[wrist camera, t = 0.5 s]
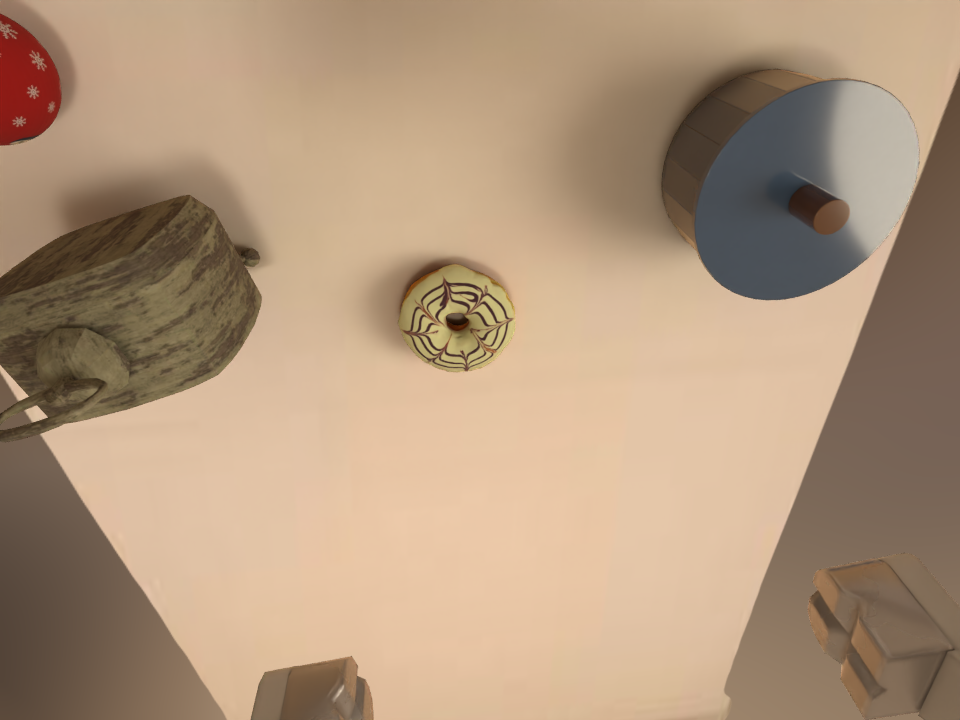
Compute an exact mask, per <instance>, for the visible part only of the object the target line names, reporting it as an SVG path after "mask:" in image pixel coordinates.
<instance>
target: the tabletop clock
mask: <svg viewBox="0 0 960 720" xmlns="http://www.w3.org/2000/svg"><path fill="white" fill-rule="evenodd" d="M259 259H260V256H259V254H258V252H257V251H256V250H254V249H253V248H246V249H245V250H243V251H242V252H241V255H240V256H239V255H238V253H237V251H236V249H235V248H234V246H233V244H232V242H231V240H230V239H229V237H228V235H227V233H226V231H225V230H224V228H223V226H222V224H221V223H220V221H219V219H218V217H217V215H216V214H215V212H214V211H213V210H212V209H210V208H209V207H207V206H206V205H204V204H203V203H201V202H199V201H198V200H196V199H195V198H193V197H192V196H190V195H186V196H181V197H177V198H173V199H170V200H166V201H163V202H160V203H156V204H153V205H150V206H147V207H144V208H140V209H137V210H134V211H131V212H128V213H125V214H122V215H119V216H116V217H113V218H110V219H107V220H104V221H101V222H98V223H95V224H92V225H89V226H86V227H83V228H80V229H78V230H75V231H72V232H70V233H68V234H65V235H63V236H60V237H59V238H57V239H55V240H53V241H52V242H50V243H48V244H47V245H45V246H44V247H42V248H40V249H39V250H37V251H36V252H35V253H33V254H32V255H30V256H29V257H28V258H26V259H25V260H23V261H22V262H21V263H19V264H18V265H16V266H15V267H14V268H12V269H11V270H9V271H8V272H7V273H6V274H4V275H3V276H2V277H1V278H0V365H1V366H2V367H3V368H4V369H5V371H6V372H7V373H8V374H9V375H10V376H11V377H12V378H13V379H14V380H15V381H16V383H17V384H18V385H19V386H20V387H21V388H22V389H23V390H24V391H25V392H26V394H27V395H28V396H29V397H27V398H25V399H23V400H21V401H19V402H17V403H16V404H14V405H13V406H11V407H10V408H8V409H7V410H5V411H4V412H2V413H1V414H0V425H1V424H2V423H3V422H4V421H5V420H7V419H8V418H9V417H11V416H13V415H15V414H17V413H19V412H21V411H23V410H26V409H28V408H31V407H33V406H36V405H37V406H38V407H39V408H40V409H41V410H42V411H43V412H44V413H45V414H46V415H47V417H48V418H45V419H43V420H40V421H37V422H34V423H30V424H27V425H23V426H20V427H16V428H12V429H8V430H0V442H10V441H14V440H20V439H24V438H28V437H30V436H34V435H38V434H41V433H44V432H46V431H49V430H51V429H54V428H57V427H59V426H61V425H63V424H65V423H73V422H78V421H83V420H87V419H91V418H95V417H99V416H103V415H107V414H111V413H115V412H119V411H123V410H127V409H130V408H133V407H136V406H139V405H142V404H145V403H148V402H151V401H154V400H157V399H160V398H163V397H166V396H169V395H172V394H175V393H178V392H181V391H184V390H186V389H189V388H191V387H194V386H196V385H198V384H201V383H203V382H205V381H207V380H209V379H211V378H213V377H215V376H217V375H218V374H219V373H220V372H221V371H222V370H223V369H224V368H225V367H226V366H227V365H228V364H229V363H230V362H231V361H232V360H233V358H234V357H235V356H236V354H237V353H238V351H239V350H240V349H241V347H242V346H243V344H244V342H245V340H246V339H247V337H248V335H249V333H250V332H251V330H252V328H253V326H254V324H255V322H256V319H257V316H258V313H259V310H260V307H261V301H262V296H261V294H260V292H259V290H258V289H257V287H256V285H255V283H254V282H253V280H252V278H251V276H250V274H249V273H248V271H247V269H246V267H245V265H246V266H251V267H253V266H255V265H256V264H258V263H259Z"/></svg>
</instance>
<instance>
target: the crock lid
mask: <svg viewBox="0 0 960 720" xmlns="http://www.w3.org/2000/svg"><path fill="white" fill-rule="evenodd" d="M918 166H919V142H918V135H917V132H916V128H915V125H914V122H913V120H912V118H911V116H910V114H909V112H908V111H907V109H906V108H905V107H904V106H903V104H902V103H901V102H900V101H899V100H898V99H897V98H896V97H895V96H893V95H892V94H891V93H890V92H888V91H886V90H885V89H883V88H881V87H879V86H877V85H874V84H871V83H868V82H865V81H861V80H855V79H848V78H831V79H824V80H817V81H813V82H809V83H806V84H802V85H799V86H797V87H794V88H792V89H790V90H787V91H785V92H783V93H781V94H779V95H777V96H776V97H774V98H772V99H770V100H768V101H767V102H766V103H764V104H763V105H761V106H760V107H758V108H757V109H756V110H754V111H753V112H752V113H751V114H749V115H748V116H747V117H746V118H745V119H744V120H743V121H741V122H740V123H739V124H738V125H737V126H736V128H735V129H734V130H733V131H732V132H731V133H730V134H729V135H728V136H727V137H726V139H725V140H724V141H723V143H722V144H721V145H720V147H719V148H718V149H717V151H716V152H715V154H714V156H713V157H712V159H711V161H710V162H709V164H708V166H707V168H706V170H705V172H704V174H703V176H702V178H701V181H700V184H699V187H698V190H697V193H696V197H695V202H694V206H693V216H692V231H693V239H694V244H695V248H696V251H697V253H698V256H699V259H700V260H701V262H702V264H703V265H704V267H705V269H706V270H707V271H708V272H709V273H710V275H711V276H712V277H713V278H714V279H715V280H716V281H717V282H718V283H720V284H721V285H722V286H723V287H725V288H727V289H728V290H730V291H732V292H734V293H736V294H739V295H741V296H744V297H748V298H753V299H760V300H782V299H789V298H794V297H798V296H802V295H806V294H809V293H811V292H814V291H817V290H819V289H822V288H824V287H826V286H828V285H830V284H832V283H834V282H835V281H837V280H839V279H840V278H842V277H844V276H845V275H847V274H848V273H850V272H851V271H852V270H854V269H855V268H856V267H858V266H859V265H860V264H861V263H862V262H864V261H865V260H866V259H867V258H868V257H869V256H870V255H871V254H872V253H873V252H874V251H875V250H876V249H877V248H878V247H879V246H880V245H881V244H882V243H883V241H884V240H885V239H886V238H887V237H888V235H889V234H890V233H891V231H892V230H893V228H894V227H895V225H896V224H897V222H898V221H899V219H900V217H901V216H902V214H903V212H904V210H905V208H906V206H907V204H908V202H909V199H910V197H911V194H912V192H913V189H914V185H915V182H916V178H917V172H918Z"/></svg>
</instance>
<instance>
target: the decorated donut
mask: <svg viewBox="0 0 960 720" xmlns="http://www.w3.org/2000/svg"><path fill="white" fill-rule="evenodd" d="M450 313H462V314H463V315H464V316H465V317H466V318H468V319H469V320H468V322H467V323H465V324H463V325H460V326H458V325H457V326H455V325H453V324H451V323H448V322H447V321H446V316H447V315H448V314H450ZM398 324H399V327H400V330H401V332H402V335H403V338H404V340H405V341H406V343H407V345H408V346H409V347H410V348H411V349H412V351H413V352H414V353H415V354H416V355H417V356H418V357H419V358H420V359H422V360H423V361H424V362H426V363H428V364H429V365H432V366H434V367H436V368H438V369H442V370H445V371H448V372H462V371H472V370H475V369H479V368H482V367H484V366H486V365H487V364H489V363H491V362H492V361H494V360H495V359H496V358H497V357H498V355H499V354H500V353H501V352H502V351H503V349H504V348H505V347H506V346H507V345H508V343H509V342H510V341H511V339H512V337H513V334H514V331H515V310H514V306H513V304H512V302H511V301H510V300H509V298H508V295H507V293H506V291H505V289H504V288H503V287H502V285H500V284H499V283H498V282H496V281H495V280H494V279H492V278H490V277H489V276H487V275H484V274H483V273H480V272H476V271H473V270H469V269H468V268H466V267H464V266H461V265H458V264H452V265H448V266H445V267H443V268H441V269H440V270H436V271H434V272H431V273H429V274H427V275H425V276H423V277H421V278H420V279H418V280H417V281H416V282H415V283H413V284H412V285H411V286H410V288H409V290H408V291H407V293H406V296H405V298H404V301H403V304H402V309H401V314H400V317H399V320H398Z"/></svg>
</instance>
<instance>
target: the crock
mask: <svg viewBox="0 0 960 720" xmlns="http://www.w3.org/2000/svg"><path fill="white" fill-rule="evenodd" d="M817 80H824V79H822V78H818V77H815V76H811V75H808V74H803V73H797V72H793V71H787V70H781V69H773V70H763V71H756V72H753V73H749V74H746V75H743V76H740V77H738V78H736V79H733V80H731V81H729V82H728V83H726V84H724V85H722V86H721V87H719V88H718V89H716V90H715V91H713V92H712V93H711V94H709V95H708V96H707V97H706V98H705V99H704V100H702V101H701V102H700V103H699V104H698V105H697V106H696V107H695V108H694V110H693V111H692V112H691V113H690V114H689V115H688V116H687V118H686V119H685V121H684V122H683V123H682V125H681V126H680V128H679V130H678V131H677V133H676V135H675V137H674V138H673V141H672V143H671V145H670V148H669V150H668V153H667V156H666V160H665V163H664V169H663V174H662V193H663V200H664V204H665V208H666V211H667V213H668V216H669V218H670V219H671V221H672V223H673V224H674V226H675V227H676V228H677V229H678V231H679V232H680V234H681V235H682V237H683V238H684V239H685V240H686V241H687V242H688V243H689V244H690V245H691V246H692V247H693V248H694V249H695V250H696V248H695V244H694V239H693V231H692V216H693V206H694V202H695V197H696V193H697V190H698V187H699V184H700V181H701V178H702V176H703V174H704V172H705V170H706V168H707V166H708V164H709V162H710V161H711V159H712V157H713V156H714V154H715V152H716V151H717V149H718V148H719V147H720V145H721V144H722V143H723V141H724V140H725V139H726V137H727V136H728V135H729V134H730V133H731V132H732V131H733V130H734V129H735V128H736V126H737V125H738V124H739V123H740V122H741V121H743V120H744V119H745V118H746V117H747V116H748V115H749V114H751V113H752V112H753V111H754V110H756V109H757V108H758V107H760V106H761V105H763V104H764V103H766V102H767V101H768V100H770V99H772V98H774V97H776V96H777V95H779V94H781V93H783V92H785V91H787V90H790V89H792V88H794V87H797V86H799V85H802V84H806V83H809V82H813V81H817Z"/></svg>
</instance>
